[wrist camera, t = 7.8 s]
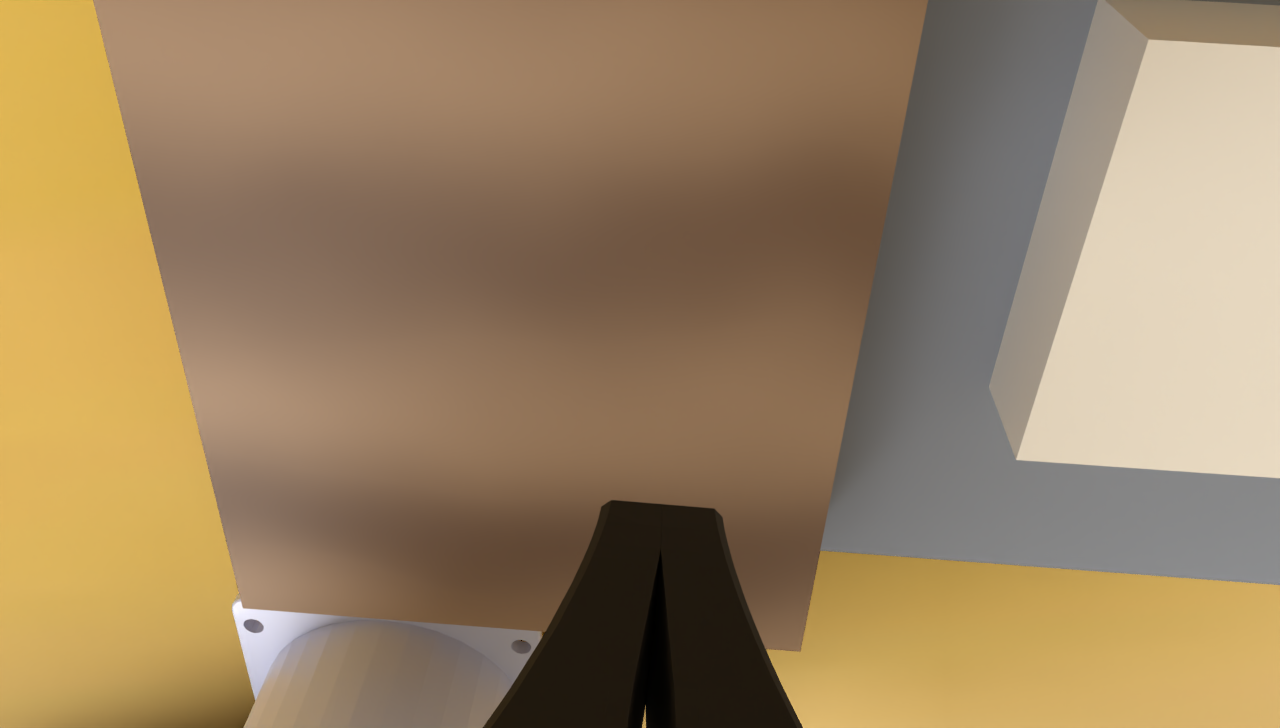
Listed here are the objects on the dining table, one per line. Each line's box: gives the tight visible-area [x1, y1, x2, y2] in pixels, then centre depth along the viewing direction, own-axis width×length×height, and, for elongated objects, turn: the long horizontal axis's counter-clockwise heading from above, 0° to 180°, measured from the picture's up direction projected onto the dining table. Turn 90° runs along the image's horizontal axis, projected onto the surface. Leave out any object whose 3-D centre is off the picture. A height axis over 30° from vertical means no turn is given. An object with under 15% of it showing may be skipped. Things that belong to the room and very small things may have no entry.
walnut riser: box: [93, 0, 928, 651], centre depth 19 cm, size 18×12×4 cm, turn 177°
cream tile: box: [989, 0, 1280, 478], centre depth 19 cm, size 8×6×2 cm
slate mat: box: [820, 0, 1280, 585], centre depth 20 cm, size 18×12×1 cm, turn 177°
